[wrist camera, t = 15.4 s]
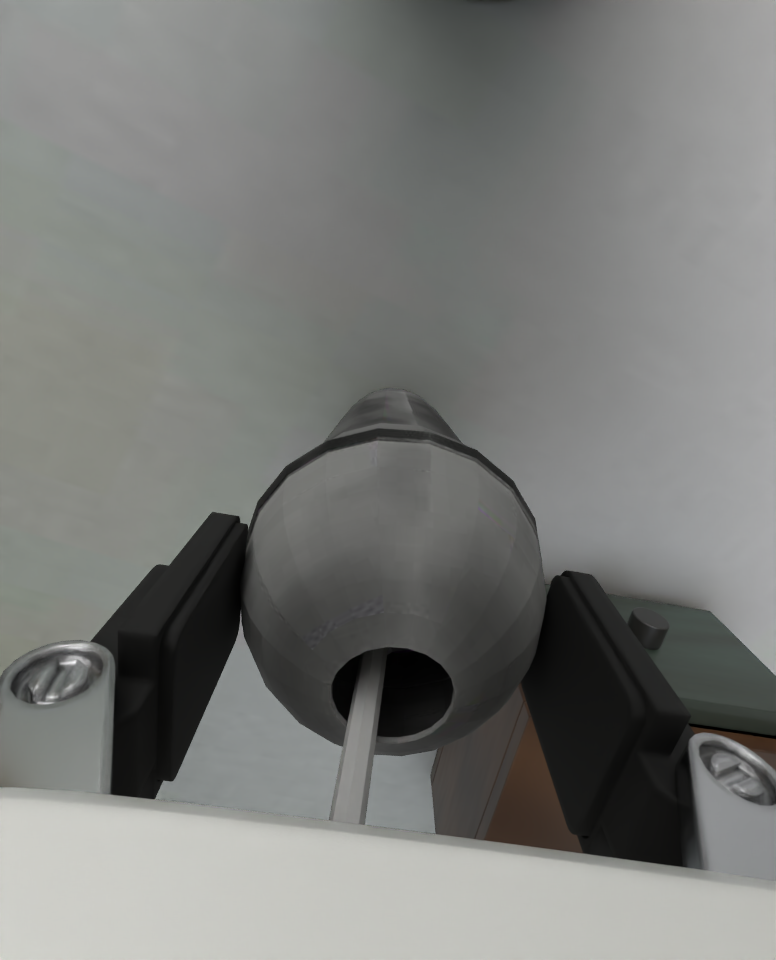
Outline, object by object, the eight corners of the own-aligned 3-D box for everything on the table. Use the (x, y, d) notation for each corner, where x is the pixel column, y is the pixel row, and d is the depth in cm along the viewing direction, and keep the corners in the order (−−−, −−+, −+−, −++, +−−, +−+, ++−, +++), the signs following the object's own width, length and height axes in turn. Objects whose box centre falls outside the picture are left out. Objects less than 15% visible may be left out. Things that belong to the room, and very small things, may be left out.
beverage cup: (503, 444, 23) (986, 1140, 4) (384, 536, 25) (363, 1305, 6) (400, 320, 21) (469, 611, 2) (280, 429, 23) (-227, 1091, 4)
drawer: (511, 557, 26) (556, 652, 19) (719, 592, 26) (834, 696, 19) (448, 762, 31) (465, 897, 24) (624, 787, 31) (689, 924, 25)
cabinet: (485, 585, 27) (529, 717, 19) (701, 620, 28) (838, 762, 19) (430, 775, 32) (444, 947, 24) (614, 800, 33) (693, 975, 24)
